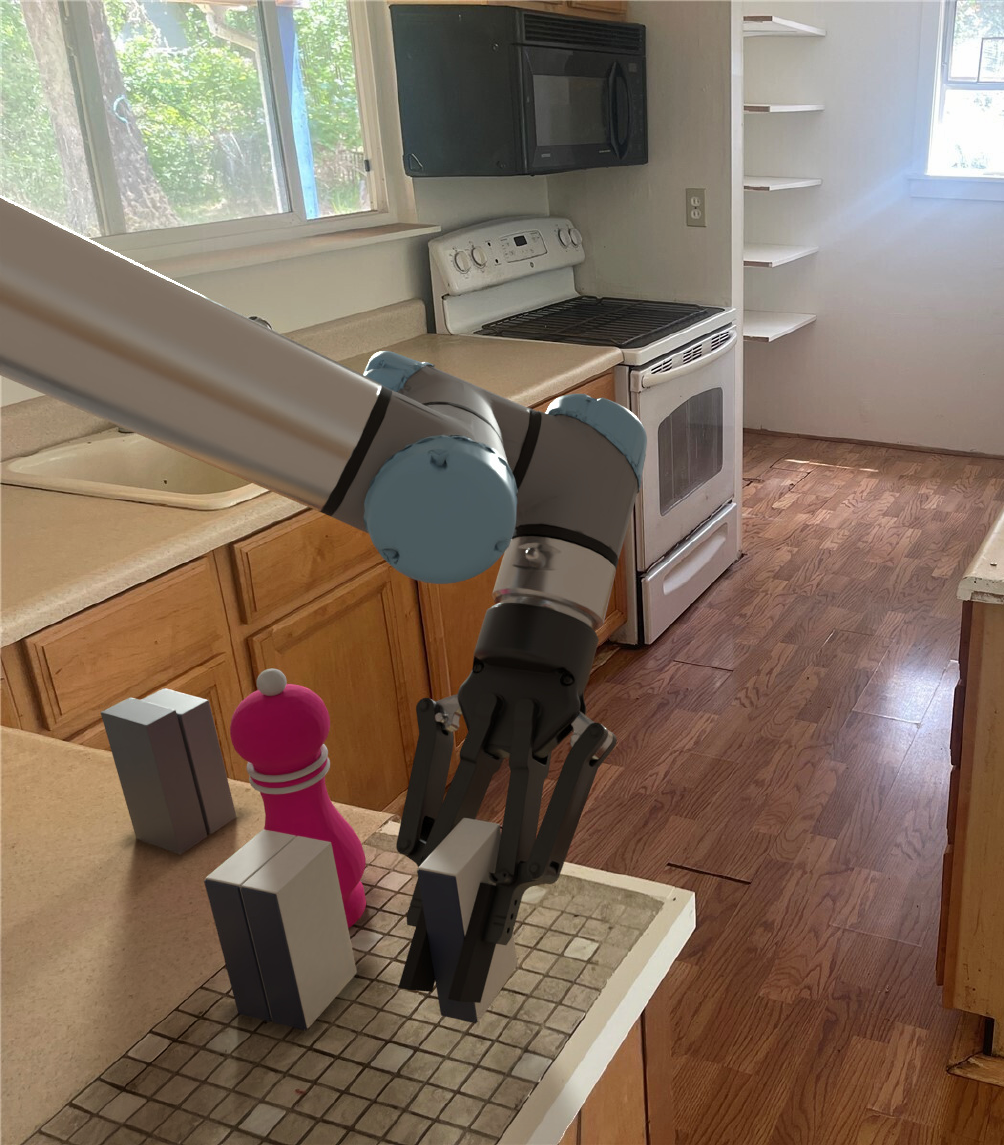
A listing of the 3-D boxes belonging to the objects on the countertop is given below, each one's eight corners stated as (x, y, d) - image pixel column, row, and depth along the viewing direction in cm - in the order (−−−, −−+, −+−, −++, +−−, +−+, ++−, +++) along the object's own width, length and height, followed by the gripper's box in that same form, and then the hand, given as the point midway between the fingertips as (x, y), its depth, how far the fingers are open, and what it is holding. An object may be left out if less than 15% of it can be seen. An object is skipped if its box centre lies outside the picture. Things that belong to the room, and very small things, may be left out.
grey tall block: (239, 1020, 68) (202, 879, 64) (293, 963, 72) (262, 828, 68) (307, 1037, 66) (275, 894, 62) (358, 978, 71) (331, 841, 67)
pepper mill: (375, 939, 74) (328, 686, 67) (262, 965, 72) (200, 706, 64) (373, 876, 81) (329, 638, 73) (269, 898, 78) (213, 655, 71)
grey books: (182, 860, 83) (146, 725, 78) (137, 844, 85) (99, 711, 80) (238, 822, 87) (207, 693, 83) (194, 808, 89) (162, 680, 84)
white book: (440, 1016, 65) (415, 869, 61) (483, 957, 70) (463, 817, 65) (477, 1025, 64) (454, 876, 60) (518, 965, 69) (500, 823, 65)
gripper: (413, 585, 69) (287, 965, 61) (637, 611, 65) (535, 1022, 57) (465, 625, 76) (358, 972, 68) (672, 651, 72) (585, 1023, 64)
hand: (439, 994), depth 62 cm, fingers closed on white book, 2 cm apart
